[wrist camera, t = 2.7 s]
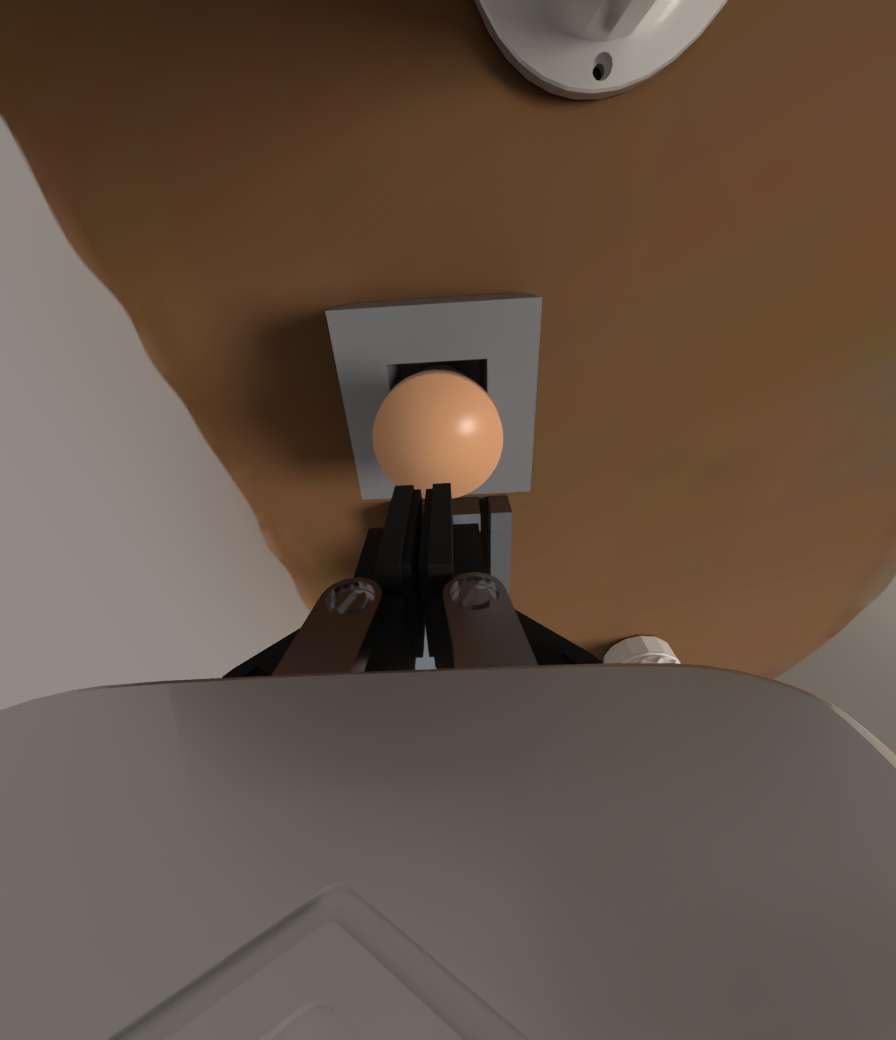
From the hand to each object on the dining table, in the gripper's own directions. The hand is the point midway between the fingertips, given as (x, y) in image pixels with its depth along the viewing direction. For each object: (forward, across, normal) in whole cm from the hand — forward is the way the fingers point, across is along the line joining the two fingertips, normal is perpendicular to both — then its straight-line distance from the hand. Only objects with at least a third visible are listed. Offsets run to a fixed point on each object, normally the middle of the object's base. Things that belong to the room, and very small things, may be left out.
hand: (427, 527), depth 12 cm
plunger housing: (+16, 0, -1) cm, 16 cm away
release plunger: (+12, 0, -1) cm, 12 cm away
